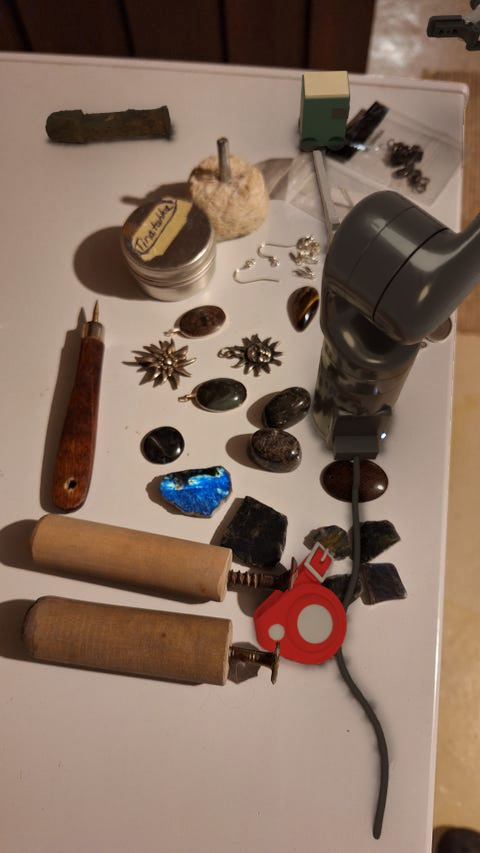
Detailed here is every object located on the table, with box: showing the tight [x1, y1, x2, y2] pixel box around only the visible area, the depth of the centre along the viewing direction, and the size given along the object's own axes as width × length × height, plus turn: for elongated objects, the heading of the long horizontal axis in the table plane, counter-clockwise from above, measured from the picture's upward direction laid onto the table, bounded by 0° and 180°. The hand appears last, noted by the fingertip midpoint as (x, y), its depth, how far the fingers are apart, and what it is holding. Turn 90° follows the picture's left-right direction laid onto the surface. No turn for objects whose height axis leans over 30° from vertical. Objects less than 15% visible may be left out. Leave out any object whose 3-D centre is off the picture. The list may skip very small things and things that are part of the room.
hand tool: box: [44, 104, 172, 144], centre depth 96 cm, size 19×4×5 cm, turn 91°
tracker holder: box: [252, 541, 348, 666], centre depth 67 cm, size 12×4×10 cm
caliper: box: [312, 149, 341, 249], centre depth 88 cm, size 20×1×6 cm, turn 4°
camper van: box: [297, 70, 351, 153], centre depth 92 cm, size 5×7×10 cm
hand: (423, 4), depth 77 cm, fingers open, 8 cm apart
